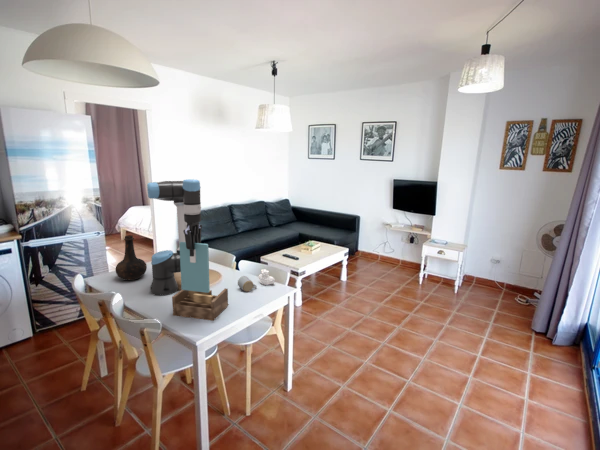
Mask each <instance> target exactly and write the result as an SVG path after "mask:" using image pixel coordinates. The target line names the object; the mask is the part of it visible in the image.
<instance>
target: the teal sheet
mask: <svg viewBox="0 0 600 450" xmlns="http://www.w3.org/2000/svg"><path fill="white" fill-rule="evenodd" d="M179 246H180V266H181V272H180V281H181V283H180V286H181V287H180V288H181V290H189V291H197V292H206V293H209V292H210V289H211V288H210V287H211V286H210V262H209V261H210V257H209V253H210V252H209V244H208V243H202V242H201V243H195V249H196V263H192V262H190V250H189V249H187V248H186V242H179V241H178V247H179Z"/></svg>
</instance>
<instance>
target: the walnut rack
mask: <svg viewBox="0 0 600 450" xmlns="http://www.w3.org/2000/svg"><path fill="white" fill-rule="evenodd" d="M228 289H229V288H224V289H223V290H221V292H220V293H219V294H217V295H213V294H212V295H213V300H212V301H211V305H210V304H202V303H194V301H193V299H189V290H182V289H181V290H180V291H177V293H174V295H172V297H171V301H172V302H171V303H172V316H175V317H180V318H181V317H183V318H190V319H198V320H204V321H213V322H214V321H216V319H217V318H218V317H219V316H220V315H221V313H223V312H224V310H226V308H227V307H228V306H229V305H230V304H229V290H228Z"/></svg>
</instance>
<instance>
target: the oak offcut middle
mask: <svg viewBox="0 0 600 450" xmlns="http://www.w3.org/2000/svg"><path fill="white" fill-rule="evenodd" d="M195 293H196V294H204V295H213V294H212V293H213V292H212V290H210V292H209V293H206V292H197V291H189V299H193V294H195Z"/></svg>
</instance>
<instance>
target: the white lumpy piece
mask: <svg viewBox="0 0 600 450" xmlns="http://www.w3.org/2000/svg"><path fill="white" fill-rule="evenodd" d="M260 272H261V273H260V274H259V275H258V278H257V279H259V282H260V283H261V284H262V285H263V286H264V285H265V286H268V285H274V284H275V280H276V279H275V277H274V276H270V275H269V273H270V270H267V269H265V268H264V269H261V270H260Z"/></svg>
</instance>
